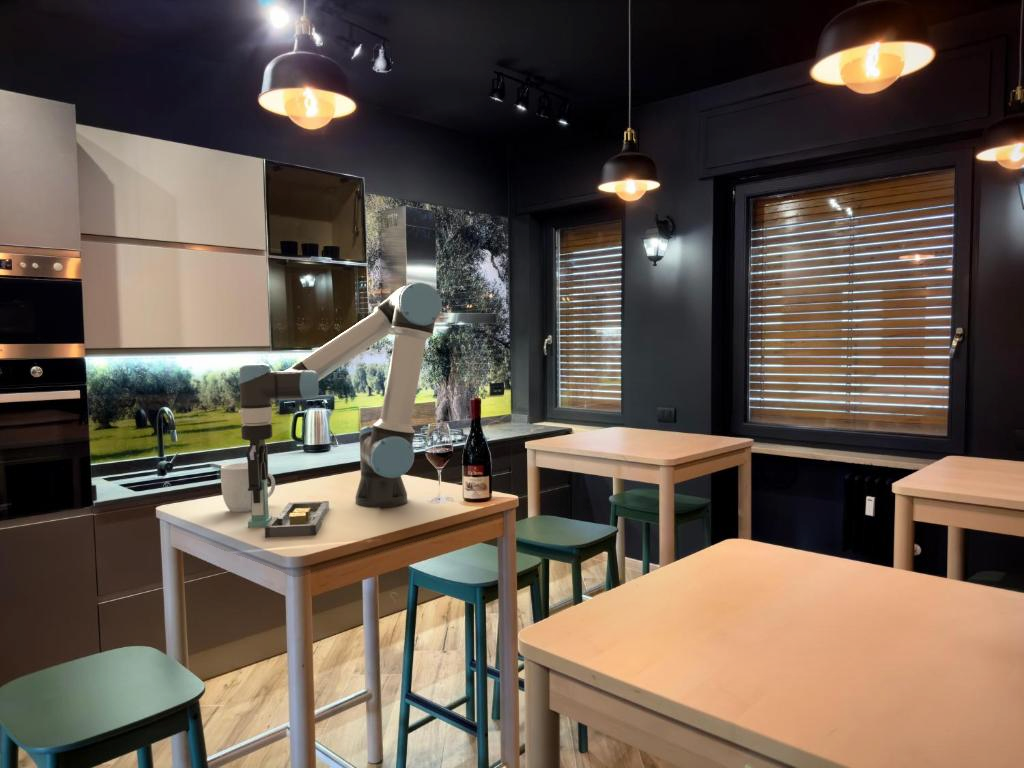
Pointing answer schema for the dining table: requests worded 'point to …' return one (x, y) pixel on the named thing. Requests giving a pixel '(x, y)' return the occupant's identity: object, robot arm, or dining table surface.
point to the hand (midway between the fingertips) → (260, 512)
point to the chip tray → (292, 528)
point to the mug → (238, 487)
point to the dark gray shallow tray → (316, 507)
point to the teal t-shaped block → (264, 519)
